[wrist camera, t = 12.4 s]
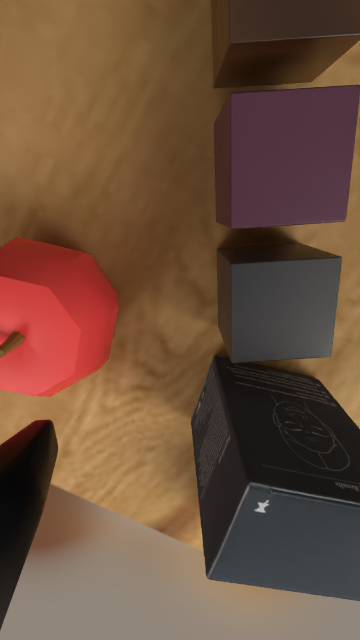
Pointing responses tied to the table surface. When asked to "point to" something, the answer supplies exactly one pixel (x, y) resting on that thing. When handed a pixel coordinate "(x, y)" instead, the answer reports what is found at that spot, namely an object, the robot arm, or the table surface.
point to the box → (277, 481)
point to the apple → (52, 317)
